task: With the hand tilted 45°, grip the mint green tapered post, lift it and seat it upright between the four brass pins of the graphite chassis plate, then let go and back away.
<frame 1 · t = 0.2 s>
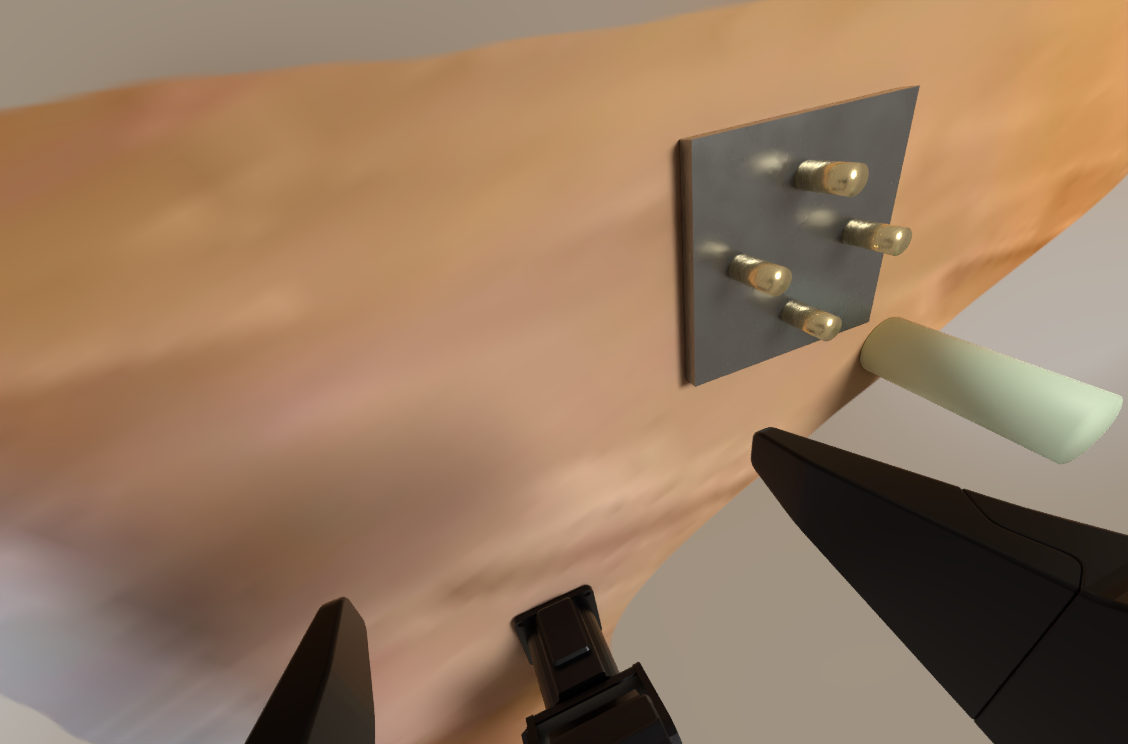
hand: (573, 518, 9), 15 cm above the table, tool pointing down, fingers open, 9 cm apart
chassis plate: (784, 245, 26), on the table
mint green tapered post: (883, 344, 34), on the table
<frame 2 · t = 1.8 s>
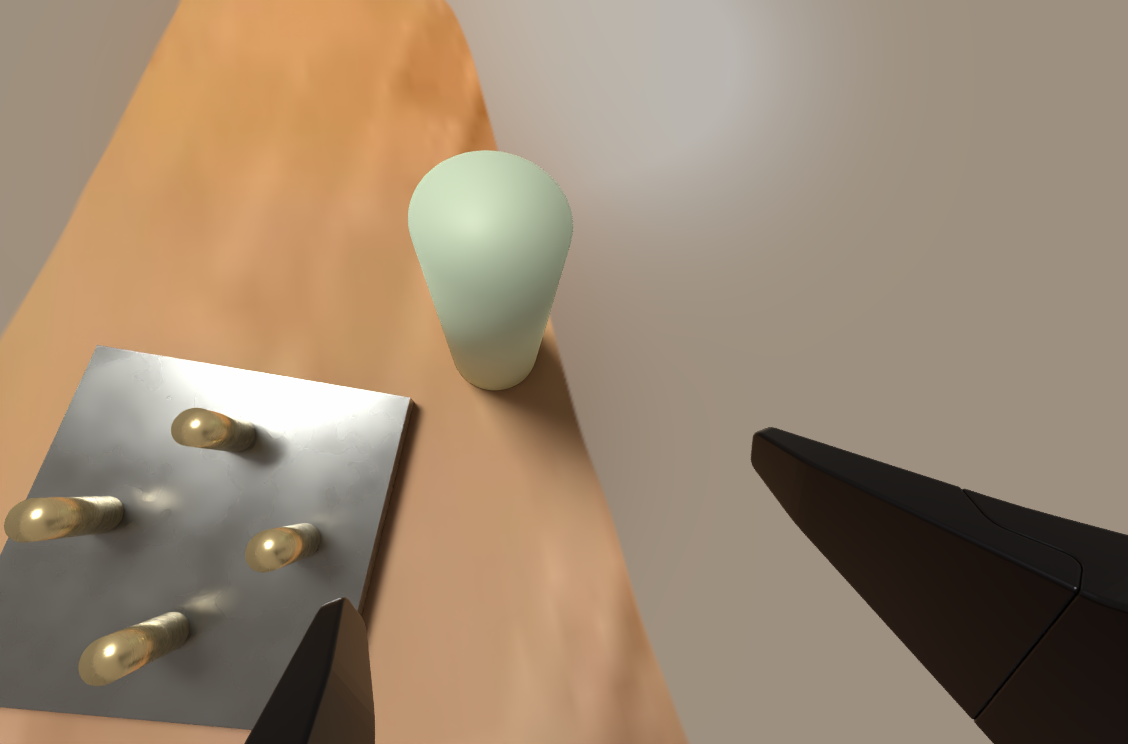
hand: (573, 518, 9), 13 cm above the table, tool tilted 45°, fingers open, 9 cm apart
chassis plate: (218, 526, 20), on the table
mint green tapered post: (495, 349, 24), on the table
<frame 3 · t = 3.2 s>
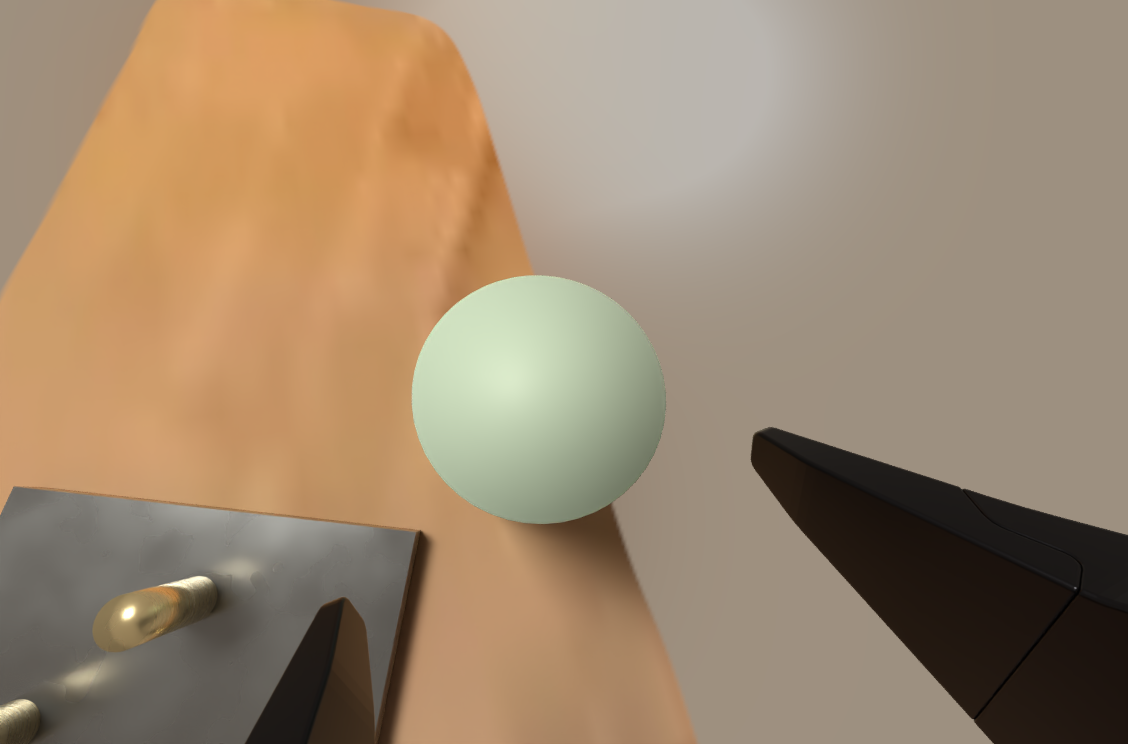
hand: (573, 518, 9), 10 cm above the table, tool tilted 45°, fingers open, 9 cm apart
chassis plate: (170, 721, 15), on the table
mint green tapered post: (518, 455, 19), on the table
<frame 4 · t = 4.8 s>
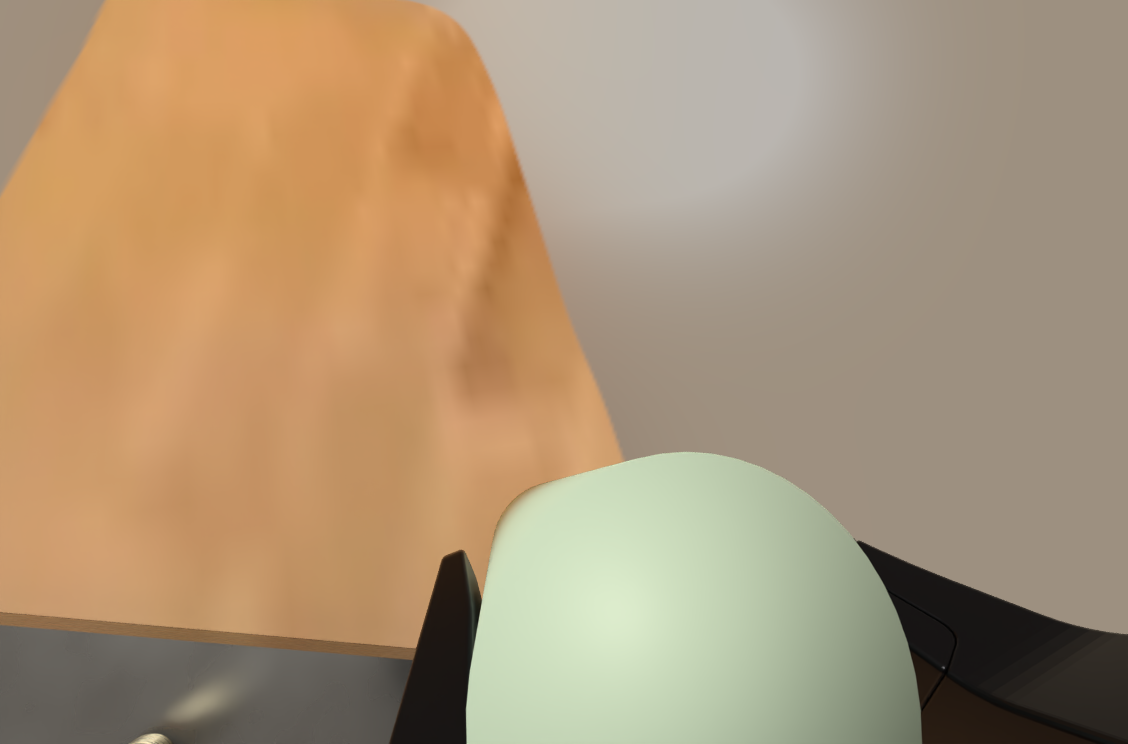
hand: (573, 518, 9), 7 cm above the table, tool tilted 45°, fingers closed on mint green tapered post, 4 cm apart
mint green tapered post: (556, 547, 16), on the table, touching gripper
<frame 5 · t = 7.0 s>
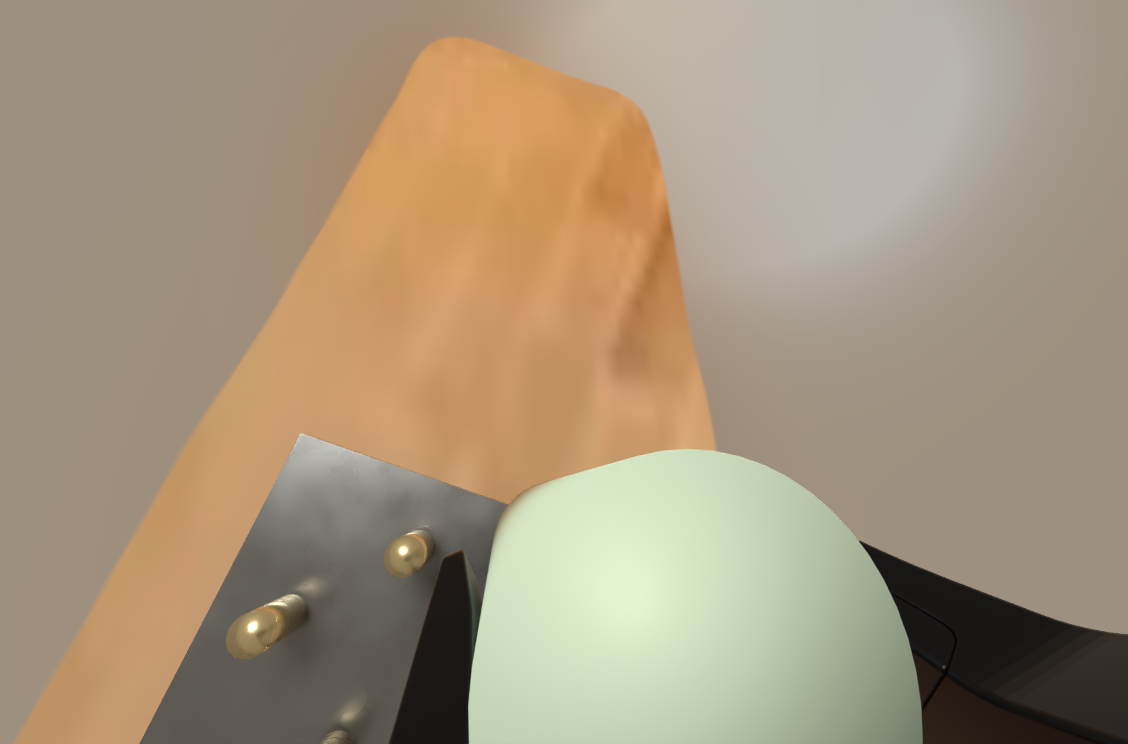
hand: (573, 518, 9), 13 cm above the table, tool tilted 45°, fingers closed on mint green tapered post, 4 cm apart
chassis plate: (384, 636, 20), on the table
mint green tapered post: (556, 546, 16), point 6 cm above the table, touching gripper
when the fingers open (9 cm above the table, at t = 9.1 s): mint green tapered post stays where it is, resting on chassis plate.
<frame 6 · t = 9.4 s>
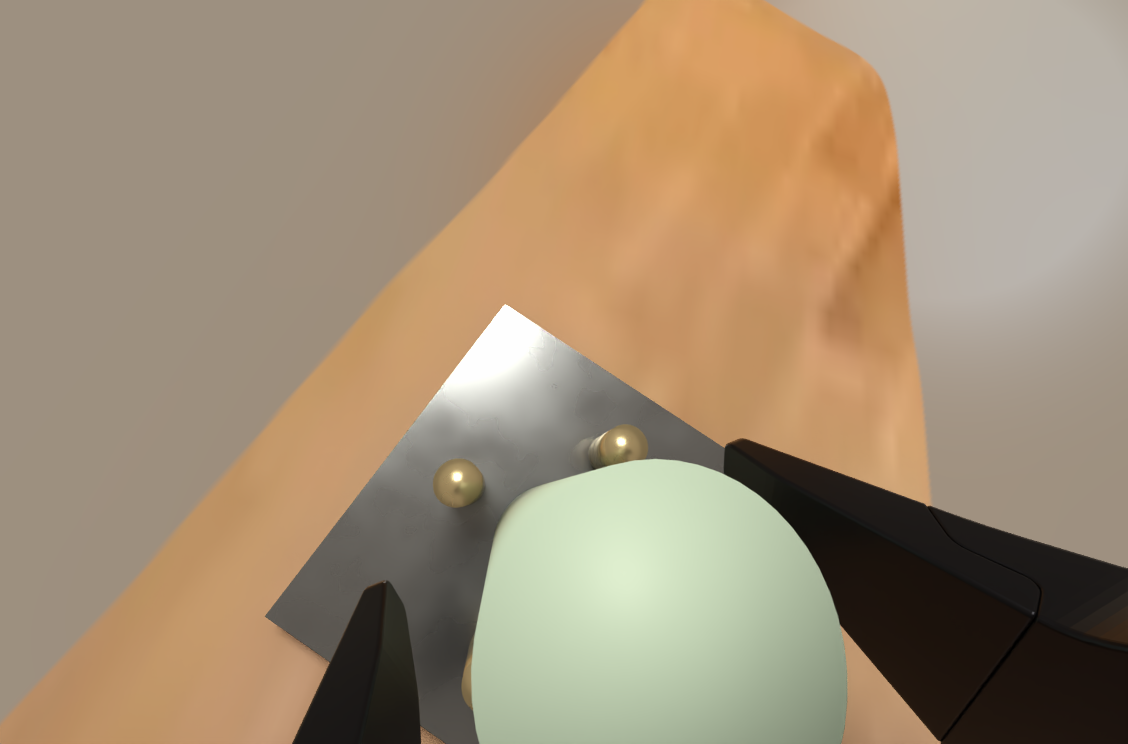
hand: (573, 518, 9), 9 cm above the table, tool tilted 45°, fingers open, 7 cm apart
chassis plate: (549, 541, 18), on the table
mint green tapered post: (553, 545, 17), point 1 cm above the table, touching chassis plate
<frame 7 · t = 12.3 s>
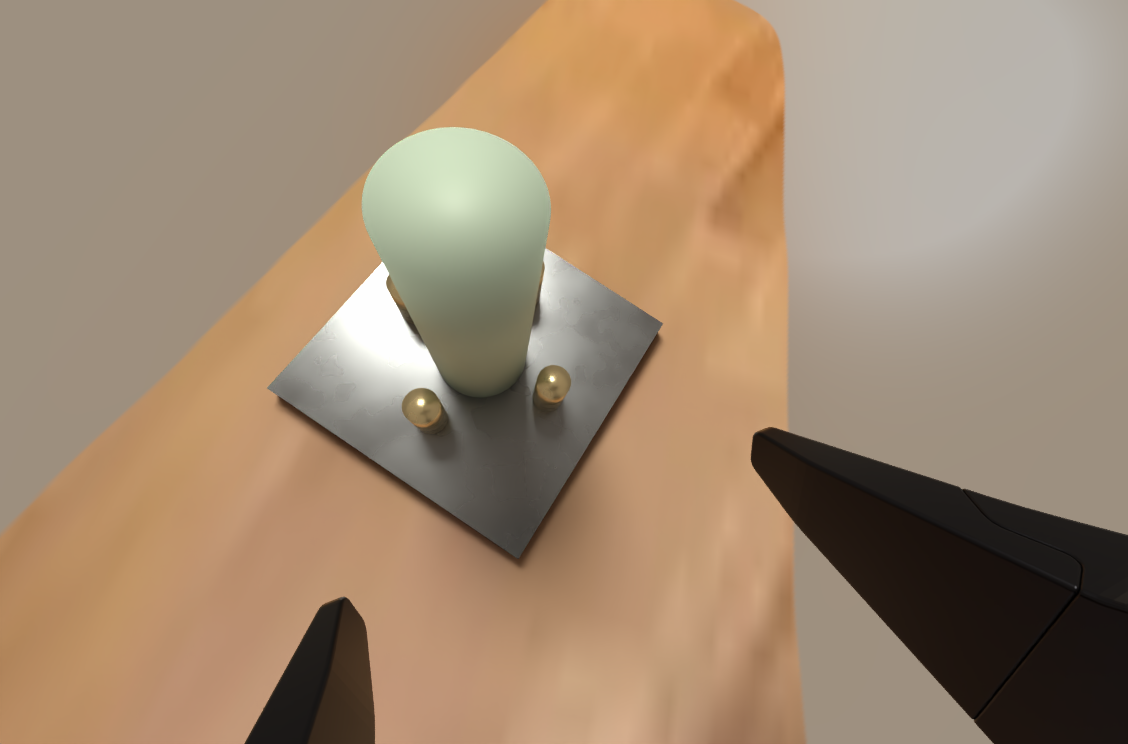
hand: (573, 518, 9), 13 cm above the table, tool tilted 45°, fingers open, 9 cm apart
chassis plate: (482, 359, 23), on the table
mint green tapered post: (481, 353, 22), point 1 cm above the table, touching chassis plate
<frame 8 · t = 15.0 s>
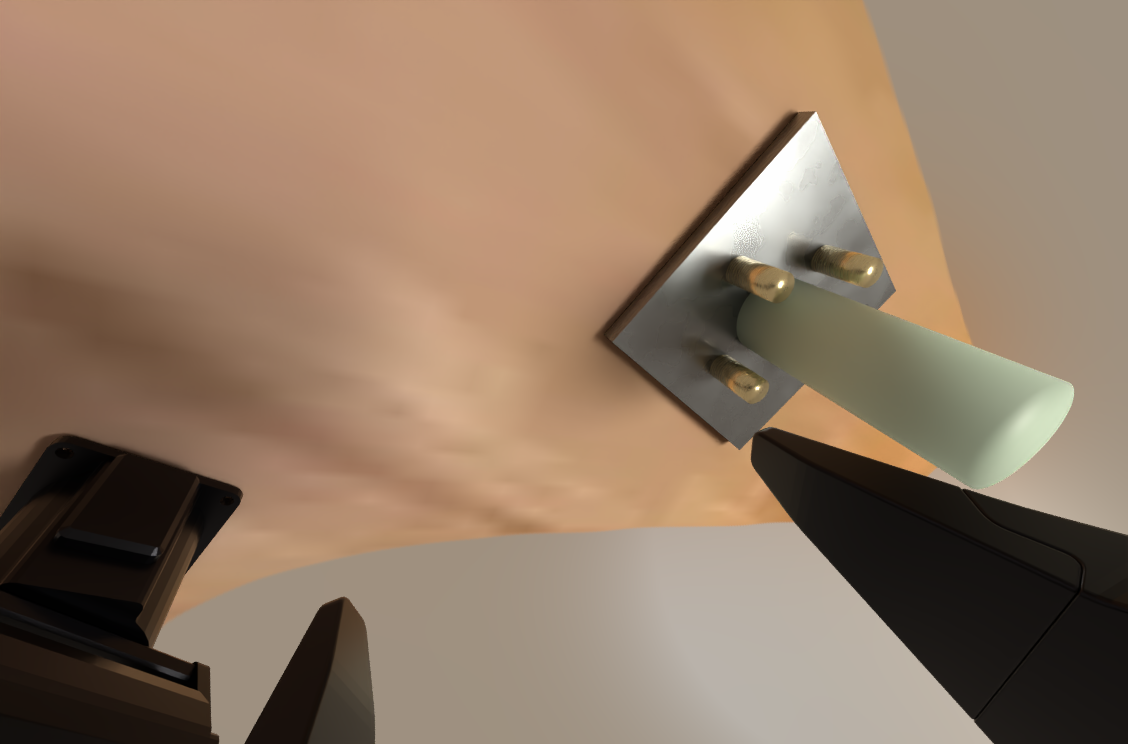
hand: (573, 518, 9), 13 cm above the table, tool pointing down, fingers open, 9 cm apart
chassis plate: (757, 307, 26), on the table
mint green tapered post: (770, 314, 25), point 1 cm above the table, touching chassis plate
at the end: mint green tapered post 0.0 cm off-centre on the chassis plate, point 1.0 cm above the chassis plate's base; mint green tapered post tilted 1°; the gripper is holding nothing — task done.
